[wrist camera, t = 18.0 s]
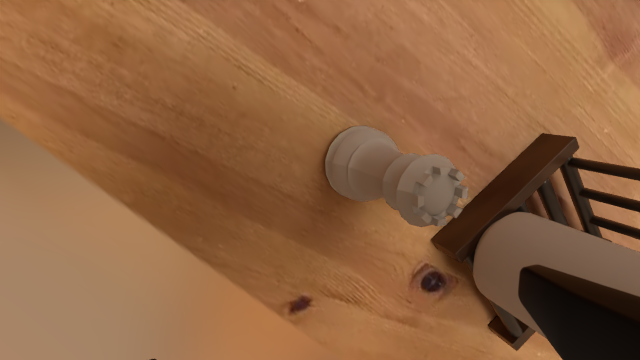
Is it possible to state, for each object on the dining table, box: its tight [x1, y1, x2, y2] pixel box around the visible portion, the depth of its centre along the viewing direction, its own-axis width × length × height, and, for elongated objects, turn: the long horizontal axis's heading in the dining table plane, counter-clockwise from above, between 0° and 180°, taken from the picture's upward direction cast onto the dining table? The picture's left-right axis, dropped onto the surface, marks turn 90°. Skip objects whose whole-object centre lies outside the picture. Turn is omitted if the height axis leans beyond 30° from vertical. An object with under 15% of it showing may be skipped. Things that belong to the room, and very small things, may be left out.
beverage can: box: [473, 212, 640, 338], centre depth 19 cm, size 6×6×12 cm
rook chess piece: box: [325, 126, 468, 227], centre depth 18 cm, size 4×4×8 cm
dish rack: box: [432, 133, 640, 351], centre depth 25 cm, size 12×12×7 cm
